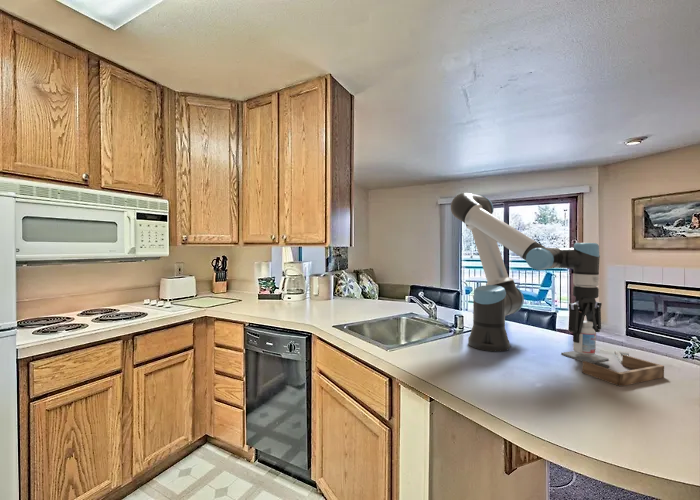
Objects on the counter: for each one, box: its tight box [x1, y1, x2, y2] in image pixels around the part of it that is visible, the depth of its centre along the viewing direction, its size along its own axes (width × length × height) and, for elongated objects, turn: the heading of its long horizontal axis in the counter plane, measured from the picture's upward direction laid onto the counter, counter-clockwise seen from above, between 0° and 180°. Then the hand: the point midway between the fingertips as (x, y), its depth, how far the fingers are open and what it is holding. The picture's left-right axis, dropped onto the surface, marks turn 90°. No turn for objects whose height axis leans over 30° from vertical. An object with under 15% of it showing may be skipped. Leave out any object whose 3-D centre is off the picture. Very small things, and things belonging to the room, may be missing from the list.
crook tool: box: [614, 350, 630, 365], centre depth 120 cm, size 4×13×1 cm, turn 150°
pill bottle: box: [575, 320, 596, 355], centre depth 122 cm, size 6×6×11 cm
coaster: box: [560, 350, 610, 364], centre depth 122 cm, size 10×10×1 cm
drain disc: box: [594, 362, 610, 369], centre depth 113 cm, size 4×4×1 cm
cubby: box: [581, 355, 665, 387], centre depth 106 cm, size 20×11×4 cm, turn 110°
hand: (584, 350), depth 122 cm, fingers closed on pill bottle, 6 cm apart
